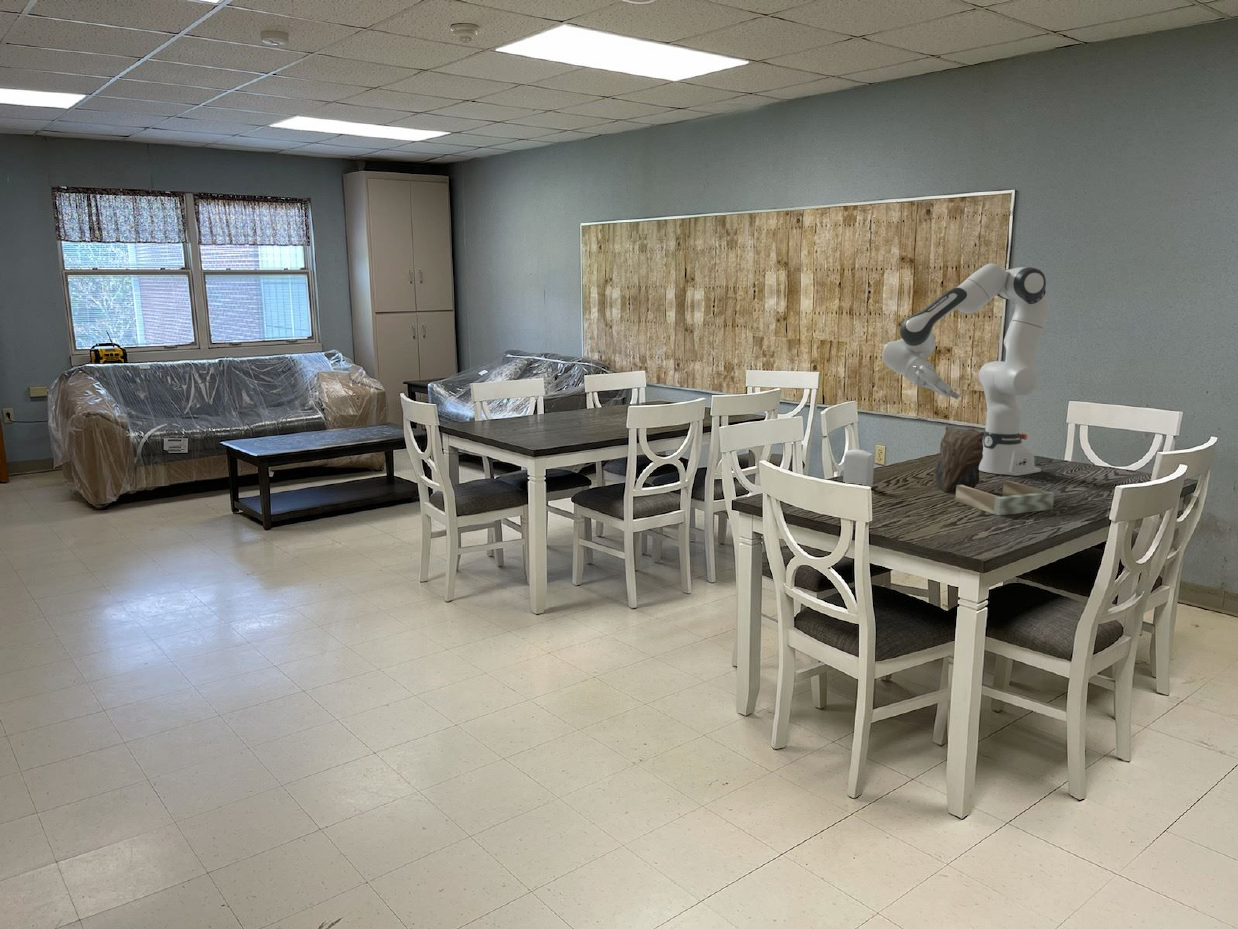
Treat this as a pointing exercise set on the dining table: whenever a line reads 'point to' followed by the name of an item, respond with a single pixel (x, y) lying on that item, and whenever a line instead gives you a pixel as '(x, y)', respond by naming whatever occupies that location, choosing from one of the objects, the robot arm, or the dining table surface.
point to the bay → (1007, 499)
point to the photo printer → (858, 467)
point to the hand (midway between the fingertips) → (954, 393)
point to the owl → (959, 459)
